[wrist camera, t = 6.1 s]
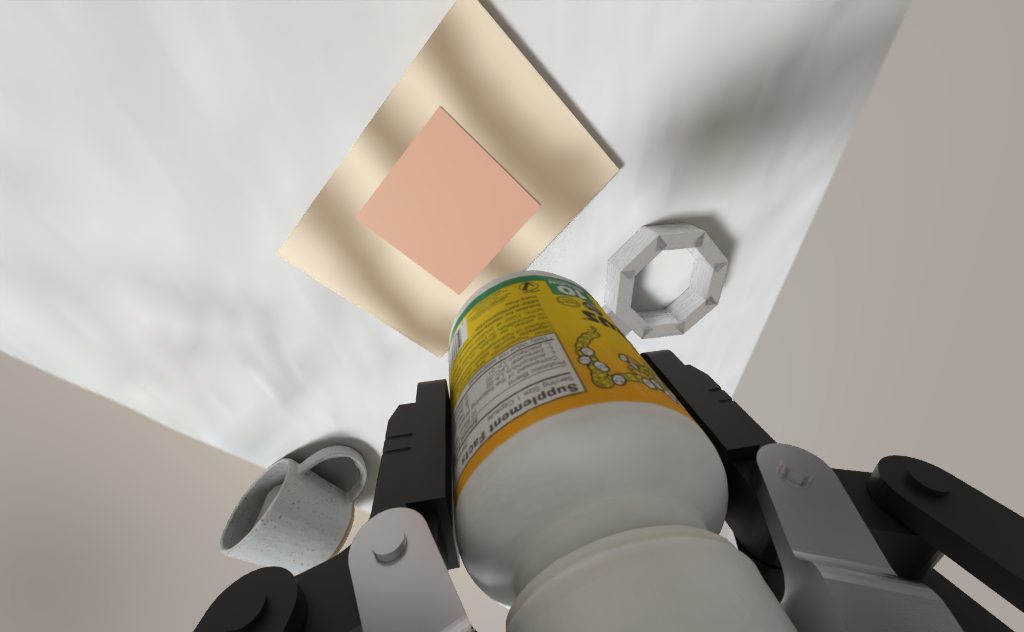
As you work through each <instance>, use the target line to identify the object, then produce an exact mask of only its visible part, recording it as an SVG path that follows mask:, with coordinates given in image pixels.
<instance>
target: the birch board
mask: <svg viewBox="0 0 1024 632" xmlns="http://www.w3.org/2000/svg"><path fill="white" fill-rule="evenodd" d="M618 171H619V169H618V168H617V166H616V165H615V164H614V163H613V162H612V160H611V159H610V158H609V157H608V156H607V154H606V153H605V152H604V151H603V150H602V148H601V147H600V146H599V145H598V144H597V142H596V141H595V140H594V139H593V138H592V136H591V135H590V134H589V133H588V132H587V131H586V129H585V128H584V127H583V126H582V125H581V123H580V122H579V121H578V120H577V119H576V117H575V116H574V115H573V114H572V113H571V111H570V110H569V109H568V108H567V107H566V105H565V104H564V103H563V102H562V101H561V99H560V98H559V97H558V96H557V95H556V93H555V92H554V91H553V90H552V89H551V87H550V86H549V85H548V84H547V83H546V82H545V80H544V79H543V78H542V77H541V76H540V74H539V73H538V72H537V71H536V70H535V68H534V67H533V66H532V65H531V64H530V62H529V61H528V60H527V59H526V58H525V56H524V55H523V54H522V53H521V52H520V50H519V49H518V48H517V47H516V46H515V44H514V43H513V42H512V41H511V40H510V38H509V37H508V36H507V35H506V34H505V33H504V31H503V30H502V29H501V28H500V27H499V25H498V24H497V23H496V22H495V21H494V19H493V18H492V17H491V16H490V15H489V13H488V12H487V11H486V10H485V9H484V7H483V6H482V5H481V4H480V3H479V1H478V0H456V2H455V3H454V4H453V6H452V7H451V9H450V10H449V11H448V13H447V14H446V16H445V17H444V18H443V20H442V21H441V23H440V24H439V25H438V27H437V28H436V30H435V31H434V33H433V34H432V35H431V37H430V38H429V40H428V41H427V42H426V44H425V45H424V47H423V48H422V49H421V51H420V52H419V54H418V55H417V56H416V58H415V59H414V61H413V62H412V63H411V65H410V66H409V68H408V69H407V71H406V72H405V73H404V75H403V76H402V78H401V79H400V80H399V82H398V83H397V85H396V86H395V87H394V89H393V90H392V92H391V93H390V94H389V96H388V97H387V99H386V100H385V101H384V103H383V104H382V106H381V107H380V108H379V110H378V111H377V113H376V114H375V116H374V117H373V118H372V120H371V121H370V123H369V124H368V125H367V127H366V128H365V130H364V131H363V132H362V134H361V135H360V137H359V138H358V139H357V141H356V142H355V144H354V145H353V146H352V148H351V149H350V151H349V152H348V153H347V155H346V156H345V158H344V159H343V161H342V162H341V163H340V165H339V166H338V168H337V169H336V170H335V172H334V173H333V175H332V176H331V177H330V179H329V180H328V182H327V183H326V184H325V186H324V187H323V189H322V190H321V191H320V193H319V194H318V196H317V197H316V198H315V200H314V201H313V203H312V204H311V206H310V207H309V208H308V210H307V211H306V213H305V214H304V215H303V217H302V218H301V220H300V221H299V222H298V224H297V225H296V227H295V228H294V229H293V231H292V232H291V234H290V235H289V236H288V238H287V239H286V241H285V242H284V244H283V245H282V246H281V248H280V249H279V251H278V252H277V253H276V255H277V256H279V257H280V258H282V259H284V260H285V261H287V262H288V263H290V264H292V265H293V266H295V267H296V268H298V269H299V270H301V271H303V272H304V273H306V274H307V275H309V276H311V277H312V278H314V279H315V280H317V281H318V282H320V283H322V284H323V285H325V286H326V287H328V288H330V289H331V290H333V291H334V292H336V293H337V294H339V295H341V296H342V297H344V298H345V299H347V300H349V301H350V302H352V303H353V304H355V305H356V306H358V307H360V308H361V309H363V310H364V311H366V312H368V313H369V314H371V315H372V316H374V317H375V318H377V319H379V320H380V321H382V322H383V323H385V324H386V325H388V326H390V327H391V328H393V329H394V330H396V331H398V332H399V333H401V334H402V335H404V336H405V337H407V338H409V339H410V340H412V341H413V342H415V343H417V344H418V345H420V346H421V347H423V348H424V349H426V350H428V351H429V352H431V353H432V354H434V355H436V356H437V357H439V358H441V357H442V356H443V355H444V354H445V353H446V352H447V351H448V350H449V338H450V333H451V329H452V326H453V323H454V321H455V318H456V316H457V314H458V312H459V311H460V309H461V308H462V306H463V305H464V304H465V302H466V301H467V300H468V299H469V298H470V297H471V296H472V295H473V294H474V293H475V292H476V291H477V290H479V289H480V288H481V287H483V286H484V285H486V284H487V283H489V282H491V281H492V280H494V279H496V278H499V277H501V276H504V275H506V274H509V273H512V272H517V271H524V270H525V269H526V268H527V267H528V266H529V265H530V264H531V263H532V261H533V260H534V259H535V258H536V257H537V256H538V255H539V254H540V253H541V252H542V251H543V250H544V249H545V248H546V247H547V246H548V245H549V244H550V243H551V241H552V240H553V239H554V238H555V237H556V236H557V235H558V234H559V233H560V232H561V231H562V230H563V229H564V228H565V227H566V226H567V225H568V224H569V222H570V221H571V220H572V219H573V218H574V217H575V216H576V215H577V214H578V213H579V212H580V211H581V210H582V209H583V208H584V207H585V206H586V205H587V204H588V202H589V201H590V200H591V199H592V198H593V197H594V196H595V195H596V194H597V193H598V192H599V191H600V190H601V189H602V188H603V187H604V186H605V185H606V183H607V182H608V181H609V180H610V179H611V178H612V177H613V176H614V175H615V174H616V173H617V172H618Z"/></svg>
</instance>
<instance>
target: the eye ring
mask: <svg viewBox="0 0 1024 632" xmlns="http://www.w3.org/2000/svg"><path fill="white" fill-rule="evenodd" d="M684 248H687V250H688V251H689V252H690V253H691V254H692V256H693V257H694V258H695V261H694V266H693V270H692V275H691V280H690V285H689V288H688V289H687V290H686V291H685V292H684V293H683V294H681V295H680V296H679V297H678V298H677V299H676V300H675V301H674V302H673V303H671V304H670V305H669V306H668V307H667V308H666V309H663V310H653V311H643V312H636V311H635V310H634V309H632V308H631V301H632V294H633V286H634V279H635V276H636V275H637V274H638V273H639V272H640V271H641V270H642V269H643V268H644V267H645V266H646V265H647V264H648V263H649V262H650V261H651V260H653V259H654V258H655V257H656V256H657V255H658V254H659V253H660V252H661V251H662V250H672V249H684ZM728 264H729V261H728V260H727V259H726V257H725V256H724V255H723V253H722V252H721V251H720V250H719V248H718V247H717V246H716V244H715V243H714V242H713V241H712V239H711V238H710V237H709V235H708V234H707V233H706V232H705V231H703V230H701V229H699V228H697V227H694V226H692V225H690V224H688V223H679V224H666V225H652V226H642V227H641V228H640V229H639V230H638V231H637V232H636V233H635V234H634V235H633V236H632V237H631V238H630V239H629V240H628V241H627V242H626V243H625V244H624V245H623V246H622V247H621V248H620V249H619V250H618V251H617V252H616V253H615V254H614V255H613V256H612V257H611V258H610V259H609V260H608V266H607V277H606V287H605V298H604V302H605V303H606V305H604V306H603V307H602V309H603V310H604V311H605V313H606V314H607V315H608V316H609V317H610V319H611V320H612V321H613V322H614V323H615V325H616V326H617V327H618V328H619V329H620V330H621V332H622V333H623V334H624V336H626V335H627V334H628V333H629V332H630V331H631V330H633V331H634V332H635V333H636V334H637V335H638V336H639V337H640V338H642V339H646V338H655V337H664V336H673V335H682V334H684V333H685V332H686V331H688V330H689V329H690V328H691V327H692V326H693V325H694V324H696V323H697V322H698V321H699V320H700V319H701V318H703V317H704V316H705V315H706V314H707V313H708V312H710V311H711V310H712V309H713V308H714V307H715V306H717V305H718V303H719V299H720V295H721V291H722V287H723V283H724V280H725V276H726V272H727V268H728Z"/></svg>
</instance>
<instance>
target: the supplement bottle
mask: <svg viewBox="0 0 1024 632" xmlns="http://www.w3.org/2000/svg"><path fill="white" fill-rule="evenodd" d="M449 387H450V411H451V447H452V476H453V504H454V523H455V534H456V542H457V547H458V550H459V554H460V556H461V559H462V561H463V564H464V566H465V568H466V570H467V572H468V573H469V575H470V577H471V578H472V579H473V581H474V582H475V583H476V584H477V586H478V587H479V588H480V589H481V590H482V591H483V592H484V593H485V594H487V595H488V596H489V597H490V598H491V599H493V600H494V601H496V602H497V603H499V604H501V605H502V606H504V607H506V608H508V609H510V610H509V613H508V616H507V620H506V632H798V631H797V630H796V628H795V626H794V625H793V623H792V622H791V620H790V619H789V617H788V616H787V614H786V613H785V611H784V609H783V608H782V606H781V605H780V603H779V602H778V600H777V599H776V597H775V595H774V594H773V592H772V591H771V589H770V588H769V586H768V585H767V584H766V582H765V581H764V579H763V577H762V575H761V574H760V572H759V570H758V568H757V567H756V565H755V564H754V563H753V561H752V560H751V559H750V558H749V557H747V556H746V555H745V554H744V553H742V552H741V551H739V550H737V549H736V547H735V546H734V545H733V544H732V543H731V542H730V541H729V540H727V539H726V538H724V537H722V536H720V535H719V533H720V531H721V529H722V526H723V523H724V520H725V517H726V513H727V507H728V484H727V477H726V473H725V469H724V467H723V464H722V461H721V459H720V457H719V454H718V453H717V451H716V449H715V447H714V445H713V444H712V443H711V441H710V440H709V438H708V437H707V436H706V434H705V433H704V431H703V430H702V429H701V428H700V427H699V425H698V424H697V423H696V422H695V421H694V419H693V418H692V417H691V416H690V415H689V413H688V412H687V411H686V410H685V408H684V407H683V406H682V405H681V403H680V402H679V401H678V400H677V398H676V397H675V396H674V395H673V393H672V392H671V391H670V390H669V389H668V388H667V387H666V385H665V384H664V383H663V382H662V381H661V380H660V378H659V377H658V376H657V375H656V373H655V372H654V371H653V370H652V369H651V367H650V366H649V365H648V364H647V362H646V361H645V360H644V359H643V358H642V356H641V355H640V354H639V353H638V352H637V350H636V349H635V348H634V346H633V345H632V344H631V343H630V342H629V341H628V340H627V339H626V337H625V336H624V334H623V333H622V332H621V330H620V329H619V328H618V327H617V326H616V325H615V323H614V322H613V321H612V320H611V319H610V317H609V316H608V315H607V314H606V313H605V311H604V310H603V309H602V308H601V306H600V305H599V304H598V302H597V301H596V300H595V299H594V298H593V297H592V296H591V295H590V294H589V293H588V292H587V291H586V290H585V289H584V288H583V287H581V286H580V285H579V284H577V283H575V282H573V281H572V280H570V279H567V278H565V277H562V276H559V275H556V274H553V273H549V272H544V271H535V270H531V271H517V272H512V273H509V274H506V275H504V276H501V277H499V278H496V279H494V280H492V281H491V282H489V283H487V284H486V285H484V286H483V287H481V288H480V289H479V290H477V291H476V292H475V293H474V294H473V295H472V296H471V297H470V298H469V299H468V300H467V301H466V302H465V304H464V305H463V306H462V308H461V309H460V311H459V312H458V314H457V316H456V318H455V321H454V323H453V326H452V329H451V333H450V338H449Z"/></svg>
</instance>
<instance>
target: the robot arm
mask: <svg viewBox="0 0 1024 632" xmlns="http://www.w3.org/2000/svg"><path fill="white" fill-rule="evenodd" d="M640 355H641V356H642V358H643V359H644V360H645V361H646V362H647V364H648V365H649V366H650V367H651V369H652V370H653V371H654V372H655V373H656V375H657V376H658V377H659V378H660V380H661V381H662V382H663V383H664V384H665V385H666V387H667V388H668V389H669V390H670V391H671V392H672V393H673V395H674V396H675V397H676V398H677V400H678V401H679V402H680V403H681V405H682V406H683V407H684V408H685V410H686V411H687V412H688V413H689V415H690V416H691V417H692V418H693V419H694V421H695V422H696V423H697V424H698V425H699V427H700V428H701V429H702V430H703V431H704V433H705V434H706V436H707V437H708V438H709V440H710V441H711V443H712V444H713V445H714V447H715V449H716V451H717V453H718V454H719V457H720V459H721V461H722V464H723V467H724V469H725V473H726V477H727V484H728V507H727V513H726V517H725V521H726V522H727V524H728V525H729V527H730V528H729V531H728V534H727V540H729V541H730V542H731V543H732V544H733V545H734V546H735V547H736V549H737V550H739V551H741V552H742V553H744V554H745V555H746V556H747V557H749V558H750V559H751V560H752V561H753V563H754V564H755V565H756V567H757V568H758V570H759V572H760V574H761V575H762V577H763V579H764V581H765V582H766V584H767V585H768V586H769V588H770V589H771V591H772V592H773V594H774V595H775V597H776V599H777V600H778V602H779V603H780V605H781V606H782V608H783V609H784V611H785V613H786V614H787V616H788V617H789V619H790V620H791V622H792V623H793V625H794V626H795V628H796V630H797V631H798V632H1014V631H1013V630H1011V629H1010V628H1009V627H1008V626H1006V625H1005V624H1004V623H1003V622H1001V621H1000V620H999V619H997V618H996V617H995V616H994V615H992V614H991V613H989V612H988V611H987V610H986V609H984V608H983V607H982V606H981V605H980V604H978V603H977V602H976V601H974V600H973V599H972V598H970V597H969V596H968V595H967V594H965V593H964V592H963V591H961V590H960V589H959V588H958V587H956V586H955V585H954V584H953V583H951V582H950V581H949V580H947V579H946V578H945V577H944V576H942V575H941V574H940V573H938V572H937V571H936V570H935V569H933V567H934V566H935V565H936V564H937V562H939V560H940V559H941V558H942V557H943V556H944V555H946V556H948V557H949V558H950V559H952V560H953V561H954V562H956V563H957V564H958V565H960V566H961V567H962V568H964V569H965V570H966V571H968V572H969V573H971V574H972V575H973V576H974V577H976V578H977V579H979V580H980V581H981V582H983V583H984V584H985V585H987V586H988V587H989V588H991V589H992V590H993V591H995V592H997V594H999V595H1000V596H1002V597H1003V598H1005V599H1006V600H1007V601H1008V602H1010V603H1011V604H1013V605H1014V606H1015V607H1016V608H1018V609H1019V610H1021V611H1022V612H1023V613H1024V518H1023V517H1022V516H1020V515H1018V514H1017V513H1015V512H1013V511H1012V510H1010V509H1008V508H1007V507H1005V506H1003V505H1002V504H1000V503H998V502H997V501H995V500H993V499H991V498H989V497H988V496H986V495H985V494H983V493H982V492H980V491H978V490H976V489H975V488H973V487H971V486H970V485H968V484H966V483H965V482H963V481H961V480H960V479H958V478H956V477H955V476H953V475H951V474H950V473H948V472H946V471H944V470H942V469H941V468H939V467H936V466H934V465H932V464H929V463H927V462H925V461H922V460H919V459H915V458H911V457H907V456H896V455H893V456H887V457H884V458H882V459H881V460H880V461H879V463H878V464H877V466H876V468H875V469H874V471H873V473H869V472H860V471H851V470H843V469H833V468H830V467H829V466H828V465H827V464H826V463H825V462H824V461H823V460H821V459H820V458H818V457H817V456H815V455H813V454H812V453H810V452H808V451H806V450H804V449H801V448H799V447H796V446H792V445H788V444H781V443H776V442H775V441H774V440H773V439H772V438H771V437H770V436H769V435H768V434H767V433H766V432H765V431H764V430H763V429H762V428H761V427H760V426H759V425H758V424H757V423H756V422H755V421H754V420H753V419H752V418H751V417H750V416H749V415H748V414H747V413H746V412H745V411H744V410H743V409H742V408H741V407H740V406H739V405H738V404H737V403H736V402H735V401H732V398H731V397H730V396H729V395H728V394H727V393H726V392H725V391H724V390H721V387H720V386H719V385H718V384H717V383H716V382H715V381H714V380H713V379H712V378H711V377H710V376H709V375H707V374H706V373H704V372H702V371H700V370H698V369H697V368H695V367H693V366H691V365H684V364H683V363H682V362H681V361H680V360H679V359H678V358H677V357H676V356H675V355H674V353H673V352H671V351H670V350H661V351H653V352H646V353H641V354H640ZM385 439H386V440H385V442H384V447H383V455H382V458H381V463H380V468H379V474H378V479H377V485H376V490H375V495H374V501H373V506H372V511H371V515H370V518H369V520H368V521H367V522H366V523H365V524H364V525H363V526H362V528H361V529H360V530H359V531H358V533H357V534H356V536H355V537H354V539H353V541H352V544H351V545H350V546H348V547H347V548H346V549H345V550H344V551H342V552H341V553H339V554H338V555H336V556H334V557H332V558H331V559H329V560H327V561H325V562H323V563H320V564H318V565H316V566H314V567H312V568H310V569H308V570H306V571H304V572H302V573H300V574H298V575H296V576H293V574H292V573H291V572H290V571H289V570H287V569H285V568H283V567H277V566H270V567H264V568H260V569H257V570H255V571H252V572H250V573H248V574H246V575H244V576H243V577H241V578H240V579H238V580H237V581H235V582H234V583H233V584H231V586H229V587H228V588H226V590H224V591H223V592H222V593H221V594H220V595H219V596H218V597H217V599H216V600H215V601H214V602H213V603H212V604H211V606H210V607H209V609H208V610H207V611H206V613H205V614H204V616H203V617H202V619H201V621H200V622H199V624H198V625H197V627H196V628H195V630H194V631H193V632H477V631H476V630H475V629H474V628H473V627H472V625H471V623H470V621H469V619H468V617H467V614H466V612H465V610H464V608H463V605H462V603H461V601H460V598H459V596H458V594H457V591H456V589H455V587H454V585H453V582H452V580H451V578H450V575H449V573H448V570H449V569H454V568H459V567H460V562H459V550H458V547H457V542H456V534H455V523H454V504H453V476H452V447H451V411H450V398H449V392H448V386H447V381H446V379H442V380H435V381H428V382H420V383H418V386H417V395H416V403H410V404H403V405H399V406H398V408H397V409H396V410H395V412H394V413H393V415H392V416H391V418H390V419H389V420H388V425H387V431H386V436H385Z"/></svg>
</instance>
